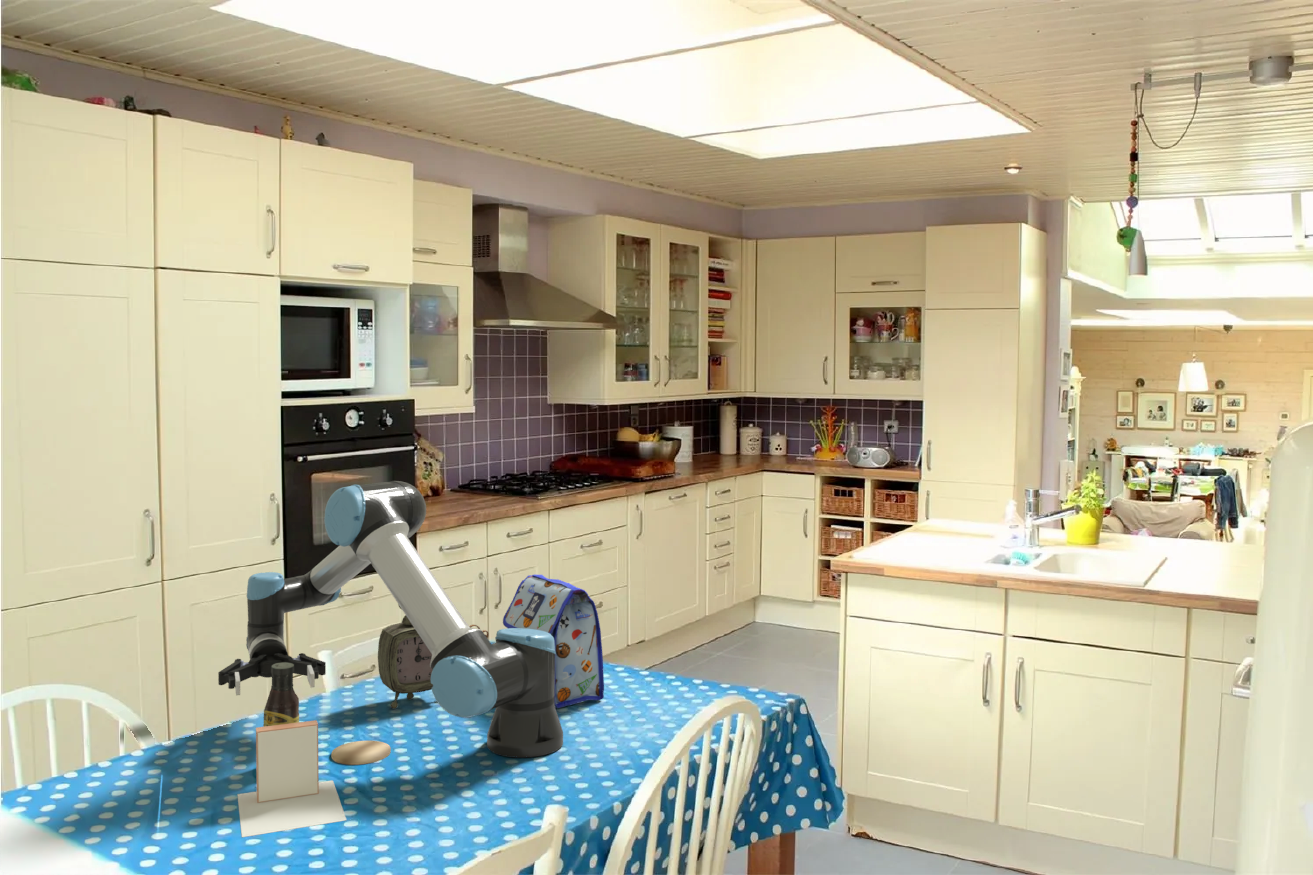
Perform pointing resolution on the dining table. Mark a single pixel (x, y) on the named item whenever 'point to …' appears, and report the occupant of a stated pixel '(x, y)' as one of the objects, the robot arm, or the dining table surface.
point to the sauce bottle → (281, 697)
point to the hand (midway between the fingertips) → (275, 684)
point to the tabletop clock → (404, 660)
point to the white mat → (289, 811)
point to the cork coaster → (361, 752)
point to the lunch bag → (563, 634)
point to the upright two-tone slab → (287, 761)
